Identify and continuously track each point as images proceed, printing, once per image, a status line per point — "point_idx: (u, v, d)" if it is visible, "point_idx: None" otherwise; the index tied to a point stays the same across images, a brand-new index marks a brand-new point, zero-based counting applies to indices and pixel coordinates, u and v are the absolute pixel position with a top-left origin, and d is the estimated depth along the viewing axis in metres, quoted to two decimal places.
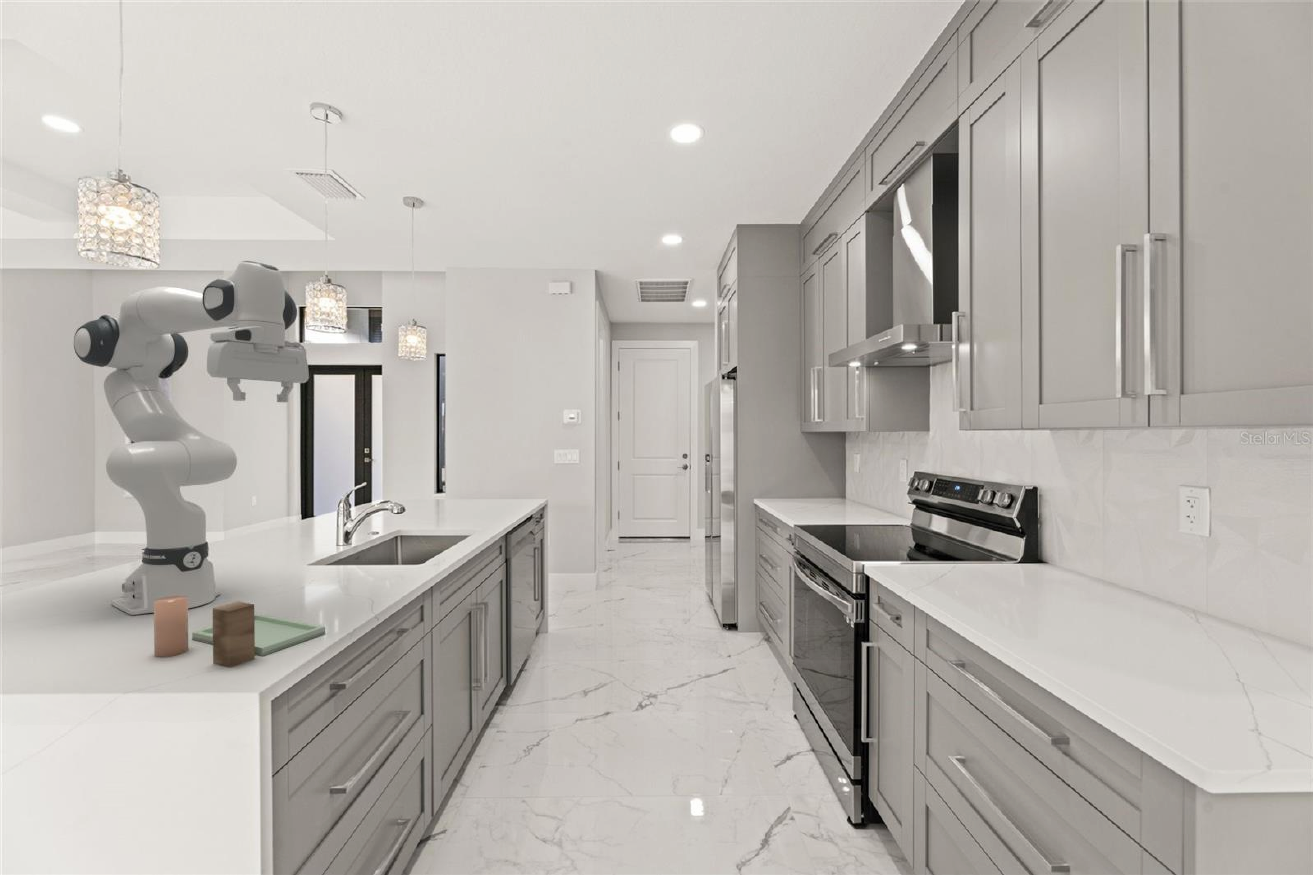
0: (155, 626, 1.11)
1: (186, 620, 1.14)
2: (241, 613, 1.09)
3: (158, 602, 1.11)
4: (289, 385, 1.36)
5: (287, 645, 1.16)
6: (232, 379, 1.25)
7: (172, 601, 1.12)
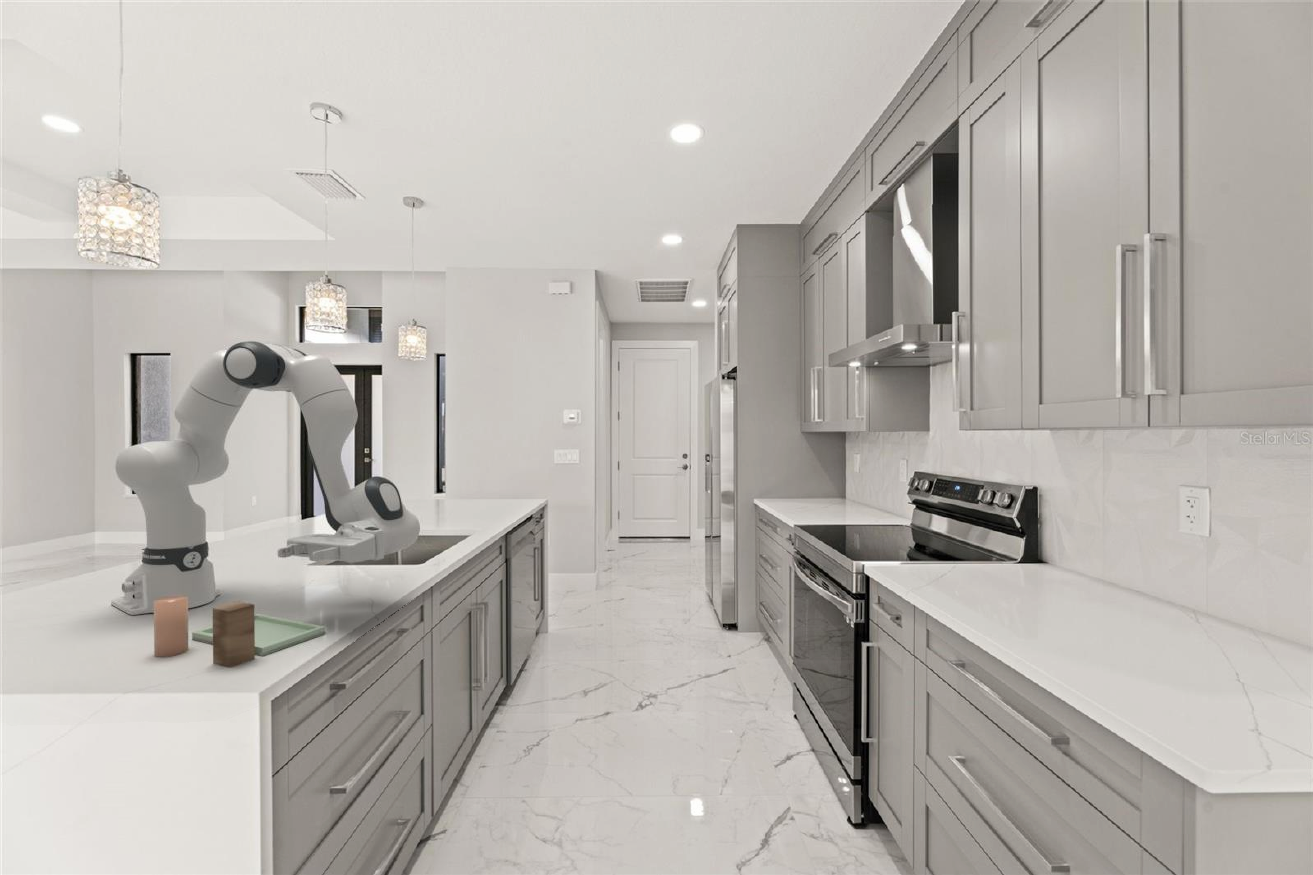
0: (155, 626, 1.11)
1: (186, 620, 1.14)
2: (241, 613, 1.09)
3: (158, 602, 1.11)
4: None
5: (287, 645, 1.16)
6: (337, 556, 1.22)
7: (172, 601, 1.12)
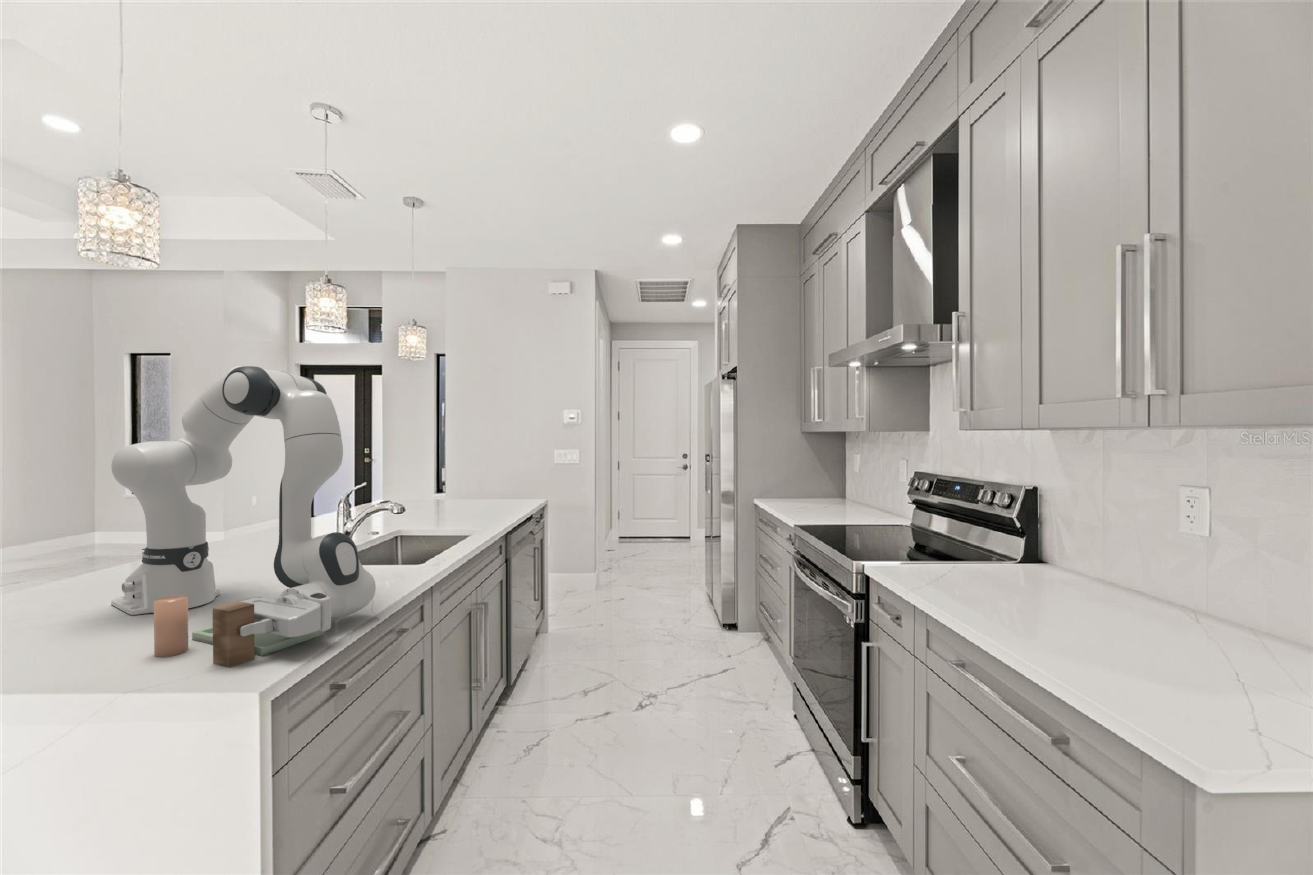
0: (155, 626, 1.11)
1: (186, 620, 1.14)
2: (241, 612, 1.09)
3: (158, 602, 1.11)
4: None
5: (287, 645, 1.16)
6: (269, 629, 1.11)
7: (172, 601, 1.12)
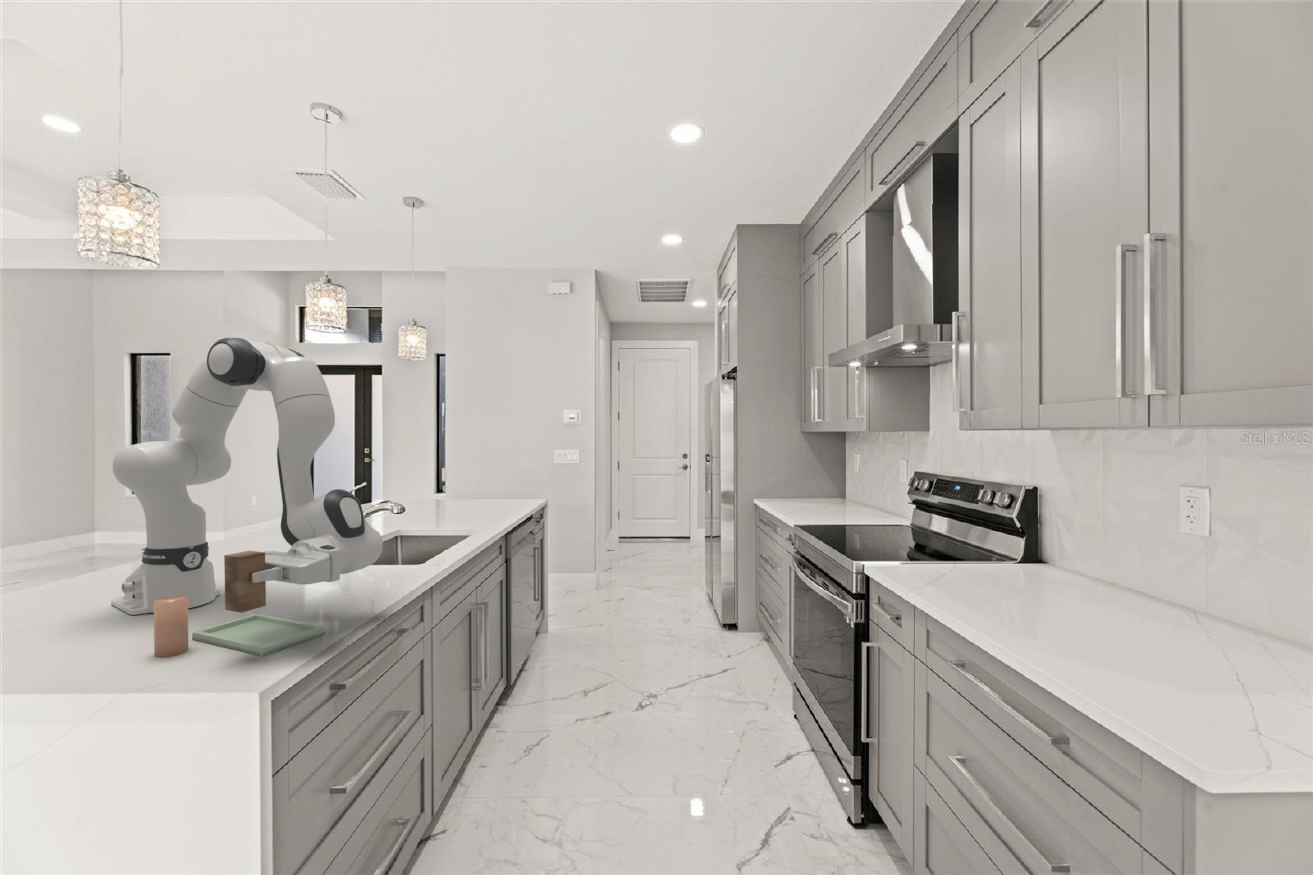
0: (155, 626, 1.11)
1: (186, 620, 1.14)
2: (252, 560, 1.10)
3: (158, 602, 1.11)
4: None
5: (287, 645, 1.16)
6: (280, 577, 1.13)
7: (172, 601, 1.12)
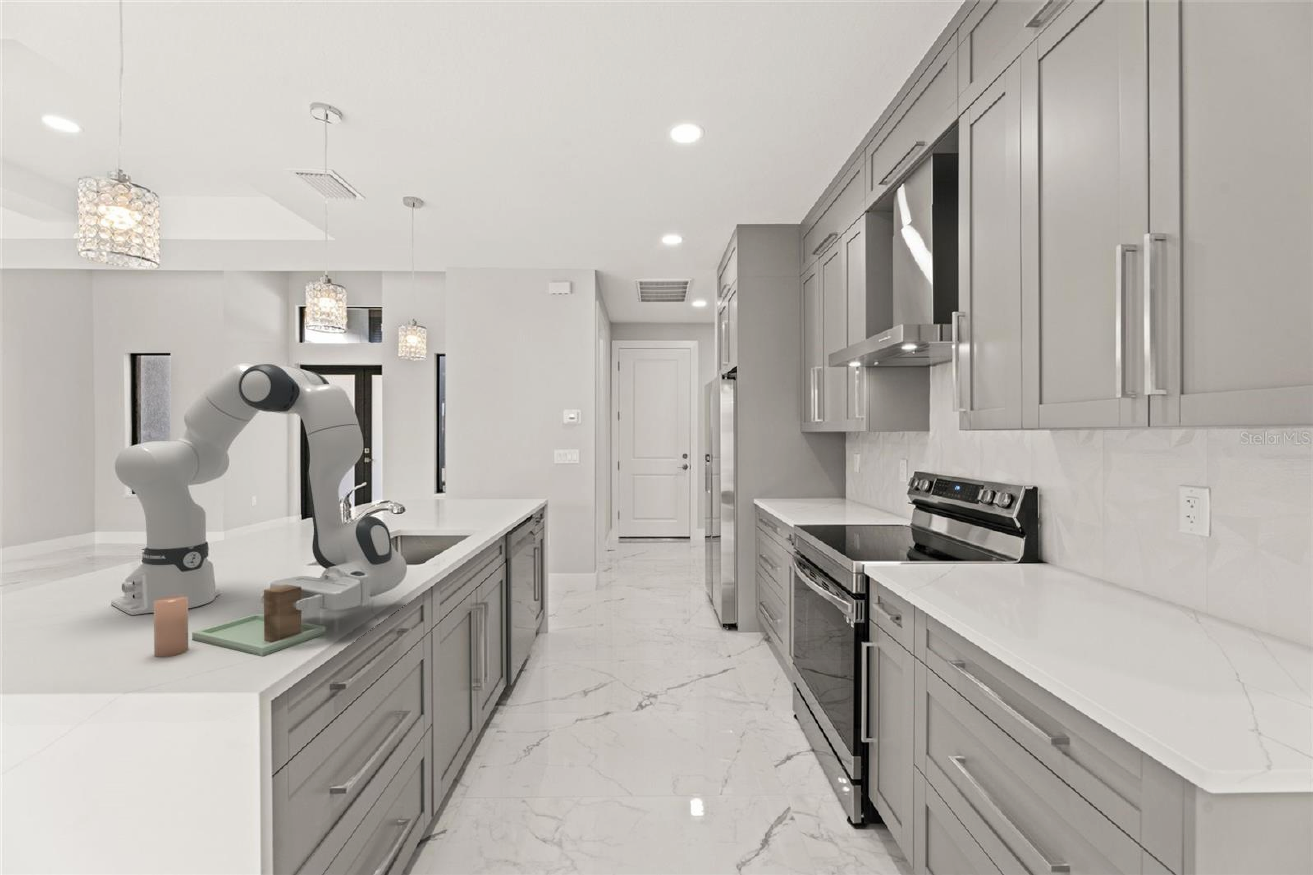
0: (155, 626, 1.11)
1: (186, 620, 1.14)
2: (290, 594, 1.18)
3: (158, 602, 1.11)
4: None
5: (287, 645, 1.16)
6: (322, 604, 1.20)
7: (172, 601, 1.12)
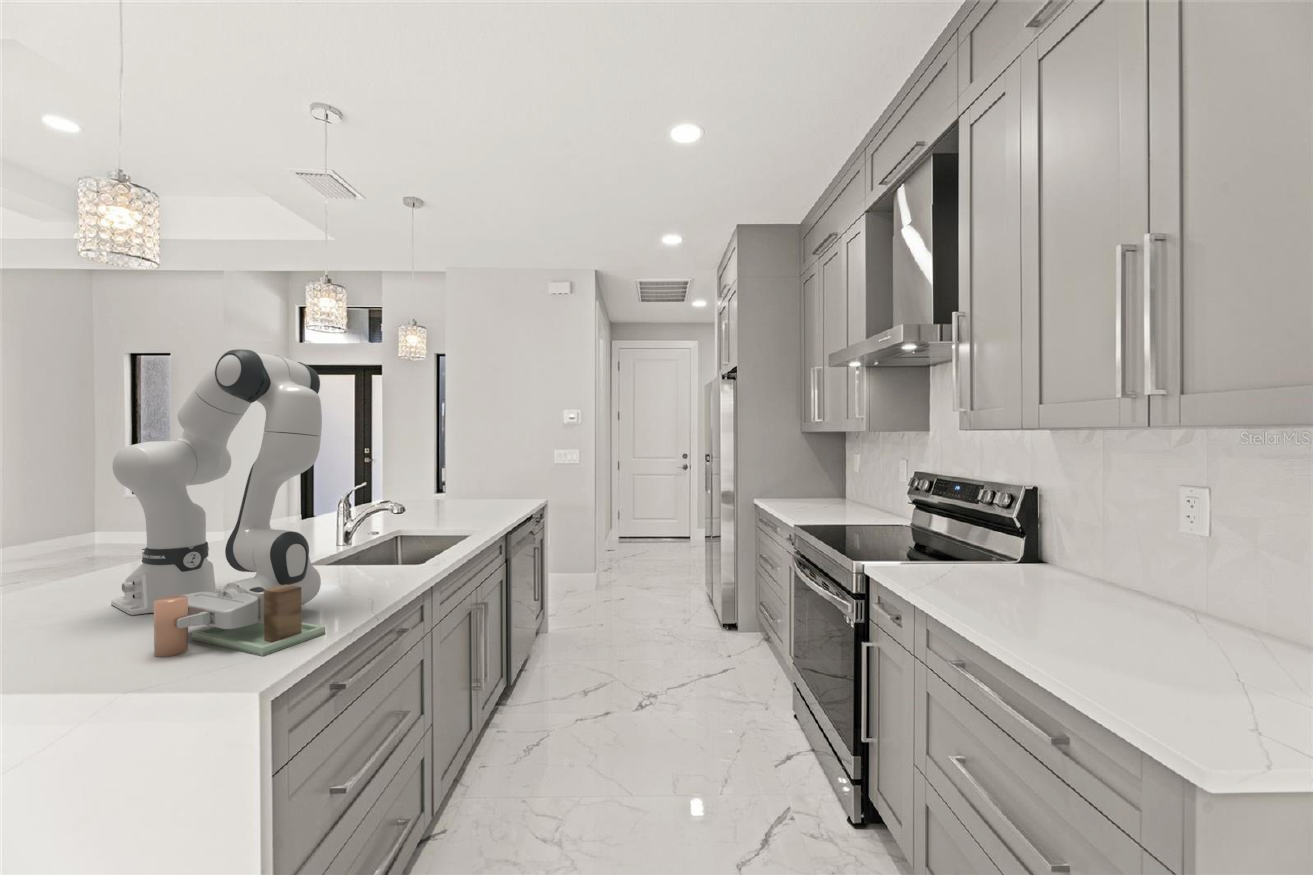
0: (155, 626, 1.11)
1: None
2: (290, 594, 1.18)
3: (158, 602, 1.11)
4: None
5: (287, 645, 1.16)
6: (207, 622, 1.15)
7: (172, 601, 1.12)
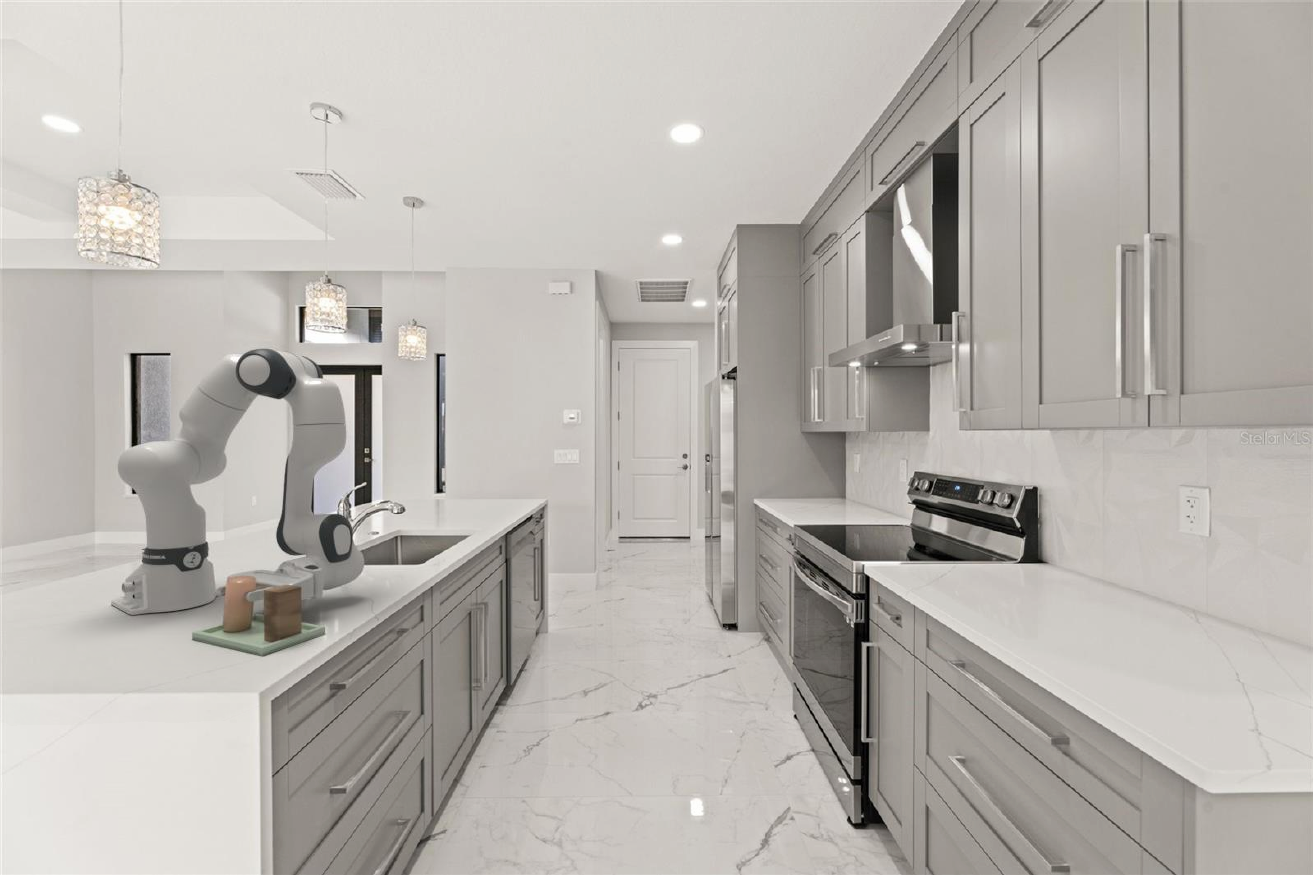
0: (226, 603, 1.22)
1: None
2: (290, 594, 1.18)
3: (231, 582, 1.22)
4: None
5: (287, 645, 1.16)
6: None
7: (243, 582, 1.23)
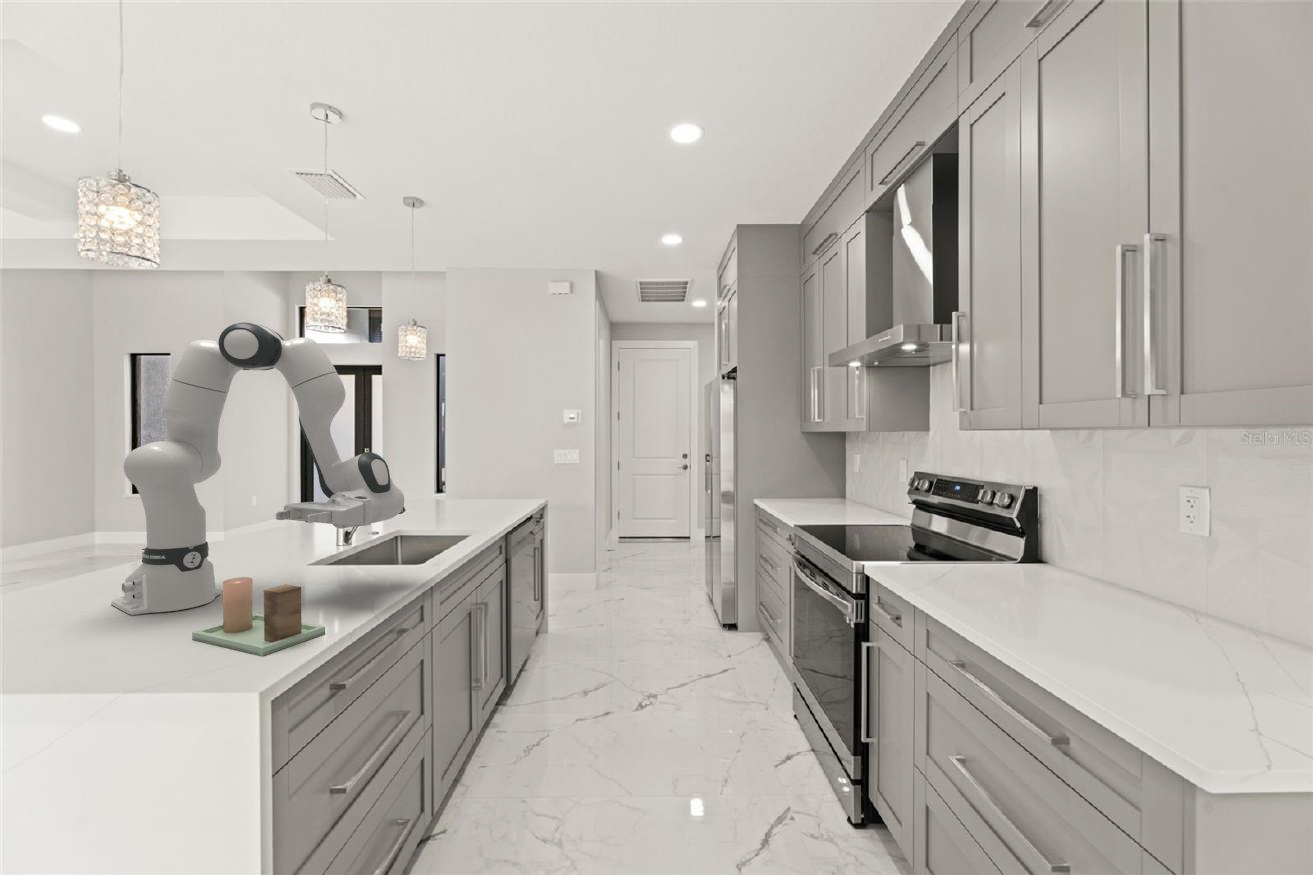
0: (224, 605, 1.22)
1: (251, 600, 1.25)
2: (290, 594, 1.18)
3: (226, 583, 1.22)
4: None
5: (287, 645, 1.16)
6: (329, 519, 1.37)
7: (239, 583, 1.23)
